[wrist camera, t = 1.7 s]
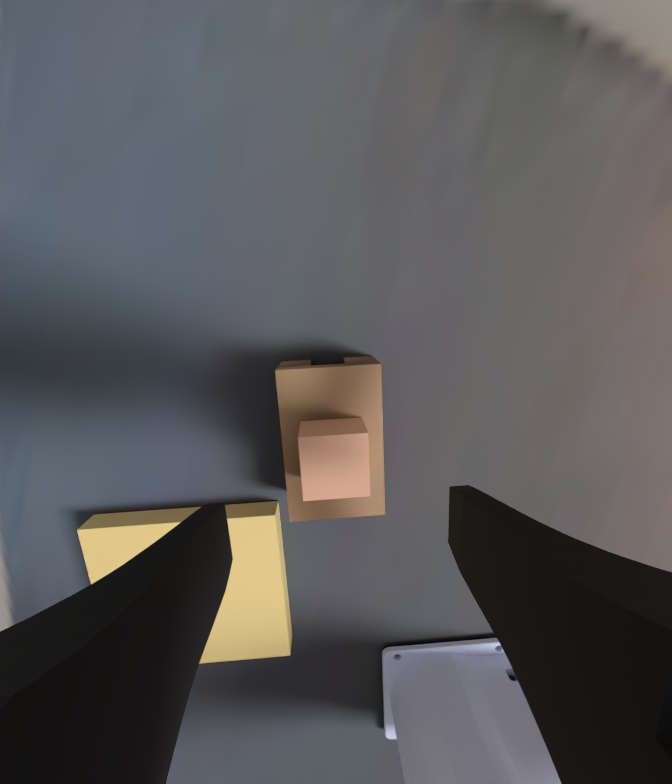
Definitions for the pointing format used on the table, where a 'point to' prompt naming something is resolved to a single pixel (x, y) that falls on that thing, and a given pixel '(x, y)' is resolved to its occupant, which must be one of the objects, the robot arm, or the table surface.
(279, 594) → the plate
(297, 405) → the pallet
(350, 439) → the salmon pink square block
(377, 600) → the table surface
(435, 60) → the table surface
